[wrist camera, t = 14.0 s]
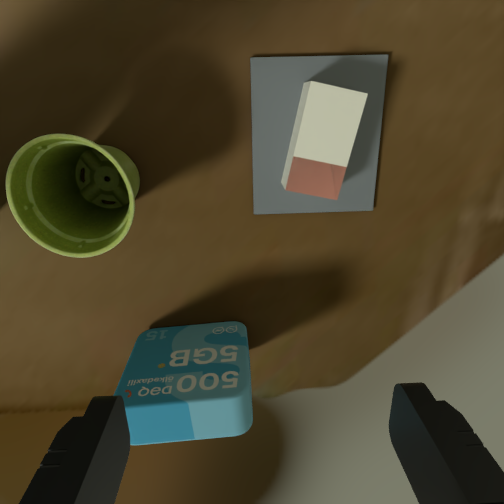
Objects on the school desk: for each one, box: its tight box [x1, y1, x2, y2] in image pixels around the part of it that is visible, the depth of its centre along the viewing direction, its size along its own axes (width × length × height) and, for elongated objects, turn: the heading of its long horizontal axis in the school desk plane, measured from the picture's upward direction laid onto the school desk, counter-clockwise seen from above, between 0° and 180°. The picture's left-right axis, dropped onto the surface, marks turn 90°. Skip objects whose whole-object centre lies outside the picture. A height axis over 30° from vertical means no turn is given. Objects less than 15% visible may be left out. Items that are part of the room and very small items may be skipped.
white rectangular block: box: [281, 81, 368, 200], centre depth 34 cm, size 9×5×4 cm, turn 169°
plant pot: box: [6, 134, 140, 258], centre depth 32 cm, size 9×9×9 cm
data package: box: [114, 321, 253, 445], centre depth 38 cm, size 12×4×12 cm, turn 95°
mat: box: [250, 55, 388, 214], centre depth 35 cm, size 12×14×1 cm
